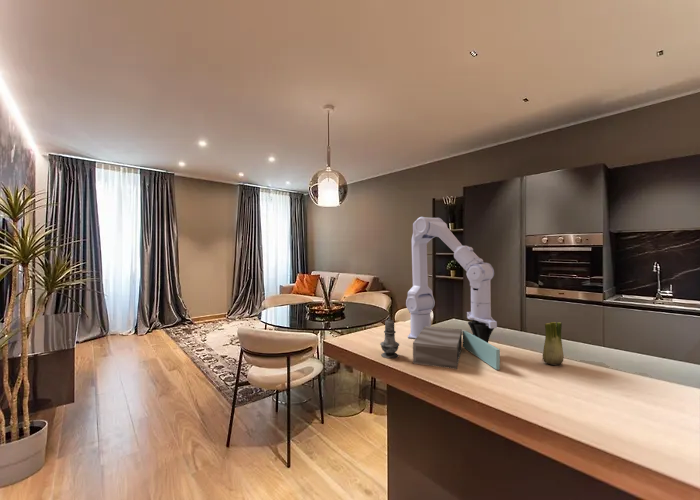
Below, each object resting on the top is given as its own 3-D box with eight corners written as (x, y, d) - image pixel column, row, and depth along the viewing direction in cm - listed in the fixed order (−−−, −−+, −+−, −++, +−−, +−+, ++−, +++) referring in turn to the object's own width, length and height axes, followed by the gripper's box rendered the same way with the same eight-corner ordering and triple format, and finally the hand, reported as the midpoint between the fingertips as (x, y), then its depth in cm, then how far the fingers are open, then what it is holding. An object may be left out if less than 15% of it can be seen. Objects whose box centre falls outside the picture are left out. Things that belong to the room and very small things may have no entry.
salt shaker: (393, 360, 96) (393, 319, 96) (376, 356, 100) (376, 317, 100) (402, 354, 101) (402, 316, 101) (386, 351, 105) (386, 313, 104)
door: (462, 346, 108) (462, 330, 108) (467, 346, 108) (467, 330, 108) (496, 369, 88) (496, 349, 88) (503, 369, 88) (503, 349, 88)
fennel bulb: (560, 361, 94) (560, 320, 94) (568, 367, 90) (569, 324, 89) (538, 360, 95) (538, 319, 95) (546, 366, 90) (546, 323, 90)
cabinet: (424, 343, 112) (424, 326, 112) (461, 347, 108) (461, 329, 107) (413, 363, 94) (412, 342, 94) (456, 369, 89) (456, 347, 89)
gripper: (457, 298, 108) (458, 339, 108) (480, 306, 93) (480, 354, 93) (478, 298, 108) (478, 338, 109) (503, 306, 94) (503, 353, 94)
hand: (481, 346), depth 101 cm, fingers closed, pressing on door
